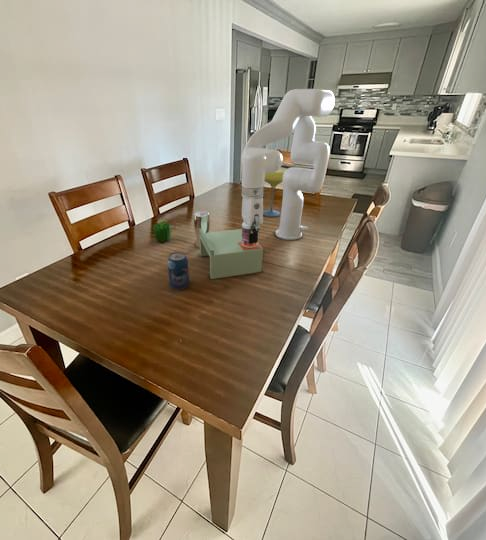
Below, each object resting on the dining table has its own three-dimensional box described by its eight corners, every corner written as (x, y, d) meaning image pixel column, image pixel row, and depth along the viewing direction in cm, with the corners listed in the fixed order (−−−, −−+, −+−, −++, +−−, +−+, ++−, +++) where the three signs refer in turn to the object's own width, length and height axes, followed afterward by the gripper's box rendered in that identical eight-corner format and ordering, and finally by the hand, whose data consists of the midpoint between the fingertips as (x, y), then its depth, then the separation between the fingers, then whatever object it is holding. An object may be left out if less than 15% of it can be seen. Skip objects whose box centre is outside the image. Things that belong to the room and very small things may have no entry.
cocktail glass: (291, 211, 172) (297, 167, 159) (279, 221, 158) (285, 174, 146) (263, 206, 180) (266, 163, 167) (249, 215, 167) (252, 169, 154)
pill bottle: (255, 249, 108) (257, 220, 102) (239, 246, 110) (240, 218, 104) (259, 242, 112) (261, 214, 107) (243, 240, 114) (245, 212, 109)
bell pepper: (150, 242, 137) (147, 221, 132) (161, 235, 144) (158, 216, 139) (164, 245, 134) (162, 225, 129) (175, 238, 140) (173, 219, 135)
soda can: (174, 292, 102) (171, 262, 96) (167, 283, 107) (164, 254, 101) (192, 287, 105) (190, 258, 99) (184, 278, 110) (182, 249, 104)
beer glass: (208, 249, 131) (207, 217, 123) (193, 247, 132) (191, 216, 124) (211, 242, 137) (211, 211, 129) (197, 241, 138) (195, 210, 130)
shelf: (244, 249, 130) (245, 224, 124) (261, 271, 114) (263, 243, 108) (200, 254, 126) (199, 229, 120) (211, 279, 109) (210, 250, 103)
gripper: (273, 197, 94) (268, 247, 103) (253, 183, 108) (251, 229, 118) (251, 199, 92) (248, 250, 102) (234, 185, 107) (233, 231, 116)
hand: (249, 238), depth 110 cm, fingers closed on pill bottle, 6 cm apart
